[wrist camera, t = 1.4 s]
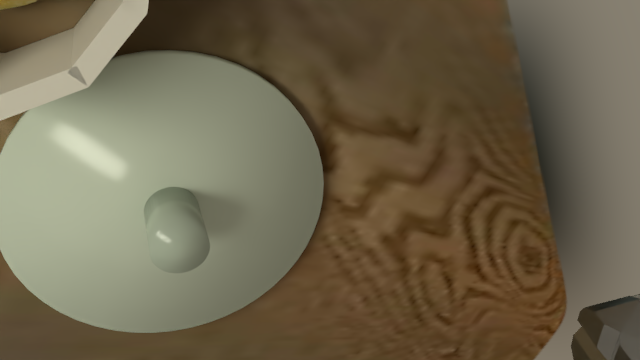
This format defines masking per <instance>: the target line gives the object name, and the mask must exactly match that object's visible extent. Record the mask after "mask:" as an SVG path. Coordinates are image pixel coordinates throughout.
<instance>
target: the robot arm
mask: <svg viewBox="0 0 640 360" xmlns="http://www.w3.org/2000/svg"><path fill="white" fill-rule="evenodd" d="M578 321H579V323H580V324H581V326H582V327H581V328H580V329H579V330H578V331H577V332H576V333H575V334H574V335H573V341H572V345H571V348H572V353H573V359H574V360H640V294H638V295H634V296H628V297H624V298H619V299H616V300H612V301H608V302H604V303H600V304H596V305H592V306H589V307H585V308H584V309H582V310H581V311H580V314H579V317H578Z"/></svg>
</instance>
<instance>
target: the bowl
mask: <svg viewBox="0 0 640 360" xmlns="http://www.w3.org/2000/svg"><path fill="white" fill-rule="evenodd" d="M148 3H149V0H95V1H94V3H93V4H92V5H91V7H90V8H89V9H88V10H87V12H86V13H85V14H84V16H83V17H82V18H81V20H80V21H79V22H78V23H77V25H76V26H75V27H74V28H73V29H70V30H67V31H64V32H62V33H59V34H56V35H53V36H51V37H48V38H45V39H42V40H40V41H37V42H34V43H31V44H29V45H26V46H23V47H20V48H18V49H15V50H12V51H9V52H7V53H0V121H1V120H3V119H6V118H9V117H11V116H14V115H16V114H19V113H22V112H24V111H27V110H30V109H32V108H35V107H38V106H40V105H43V104H46V103H48V102H51V101H53V100H56V99H59V98H61V97H64V96H67V95H69V94H72V93H75V92H77V91H80V90H83V89H85V88H88V87H89V86H90V85H91V84H92V82H93V81H94V80H95V79H96V77H97V76H98V75H99V74H100V72H101V71H102V70H103V69H104V67H105V66H106V65H107V64H108V62H109V61H110V60H111V59H112V57H113V56H114V55H115V53H116V52H117V51H118V50H119V48H120V47H121V46H122V45H123V43H124V42H125V41H126V40H127V38H128V37H129V36H130V35H131V33H132V32H133V31H134V30H135V28H136V27H137V26H138V25H139V23H140V22H141V21H142V20H143V18H144V17H145V16H146V15H147V12H148Z"/></svg>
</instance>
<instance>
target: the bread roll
mask: <svg viewBox="0 0 640 360" xmlns="http://www.w3.org/2000/svg"><path fill="white" fill-rule="evenodd" d="M35 1H37V0H0V10H2V9H8V8H14V7H19V6H23V5H27V4H30V3H33V2H35Z"/></svg>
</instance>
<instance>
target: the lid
mask: <svg viewBox="0 0 640 360" xmlns="http://www.w3.org/2000/svg"><path fill="white" fill-rule="evenodd" d="M323 186H324V181H323V168H322V163H321V158H320V154H319V150H318V147H317V145H316V142H315V140H314V137H313V135H312V133H311V131H310V129H309V127H308V126H307V124H306V122H305V121H304V119H303V117H302V116H301V115H300V113H299V112H298V111H297V109H296V108H295V107H294V106H293V104H292V103H291V102H290V101H289V100H288V98H287V97H286V96H285V95H283V94H282V93H281V92H280V91H279V90H278V89H277V88H276V87H275V86H274V85H273V84H271V83H270V82H268V81H267V80H265V79H264V78H262V77H261V76H260V75H258V74H257V73H255V72H253V71H251V70H249V69H247V68H245V67H243V66H241V65H239V64H237V63H234V62H231V61H228V60H226V59H223V58H220V57H217V56H212V55H208V54H203V53H198V52H193V51H180V50H152V51H141V52H136V53H130V54H124V55H119V56H116V57H113V58H112V59H111V60H110V61H109V62H108V64H107V65H106V66H105V67H104V69H103V70H102V71H101V72H100V74H99V75H98V76H97V77H96V79H95V80H94V81H93V82H92V84H91V85H90V86H89V87H88V88H85V89H83V90H80V91H77V92H75V93H72V94H69V95H67V96H64V97H61V98H59V99H56V100H53V101H51V102H48V103H46V104H43V105H40V106H38V107H35V108H32V109H30V110H27V111H26V112H25V113H24V114H23V115H22V116H21V117H20V119H19V120H18V122H17V123H16V125H15V126H14V128H13V129H12V131H11V133H10V134H9V136H8V138H7V140H6V142H5V144H4V146H3V149H2V151H1V153H0V250H1V252H2V254H3V257H4V259H5V260H6V262H7V263H8V265H9V267H10V268H11V270H12V271H13V273H14V274H15V275H16V277H17V278H18V279H19V280H20V281H21V282H22V283H23V284H24V285H25V287H26V288H27V289H28V290H29V291H31V292H32V293H33V294H34V295H35V296H37V297H38V298H39V299H40V300H41V301H43V302H44V303H46V304H47V305H49V306H51V307H52V308H54V309H55V310H57V311H59V312H61V313H63V314H65V315H67V316H69V317H71V318H73V319H75V320H78V321H81V322H84V323H87V324H90V325H93V326H96V327H101V328H106V329H110V330H116V331H125V332H137V333H155V332H166V331H175V330H180V329H186V328H191V327H195V326H198V325H202V324H205V323H209V322H211V321H214V320H217V319H219V318H222V317H224V316H227V315H229V314H231V313H233V312H235V311H237V310H239V309H241V308H243V307H245V306H246V305H248V304H249V303H251V302H253V301H254V300H256V299H257V298H259V297H260V296H261V295H263V294H264V293H265V292H267V291H268V290H269V289H270V288H272V287H273V286H274V285H275V284H276V283H277V282H278V281H279V280H280V279H281V278H282V277H283V276H284V275H285V274H286V273H287V272H288V271H289V270H290V269H291V267H292V266H293V265H294V264H295V263H296V261H297V260H298V258H299V257H300V255H301V254H302V252H303V251H304V249H305V248H306V246H307V244H308V242H309V240H310V238H311V236H312V234H313V232H314V229H315V227H316V224H317V221H318V218H319V215H320V210H321V205H322V200H323Z"/></svg>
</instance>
